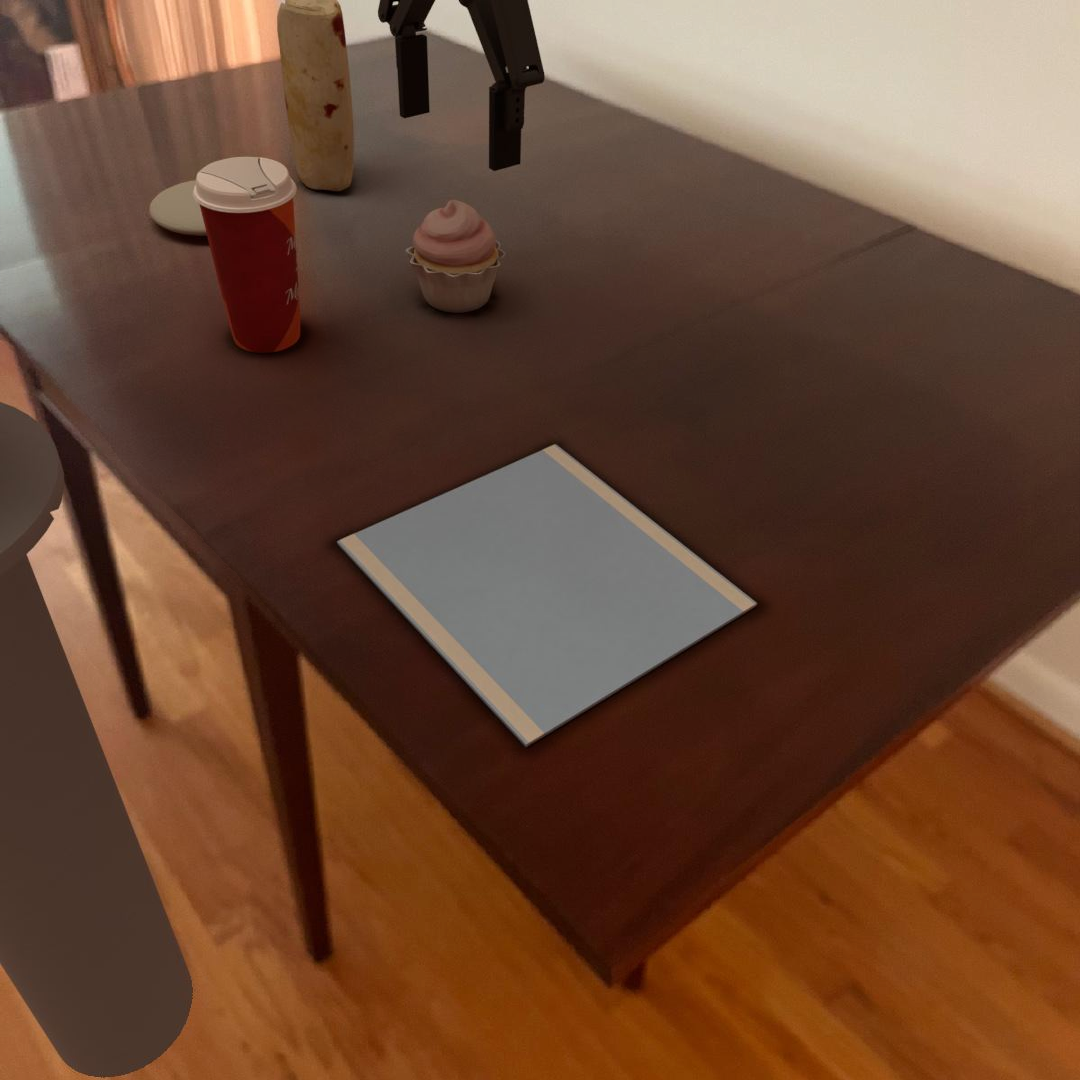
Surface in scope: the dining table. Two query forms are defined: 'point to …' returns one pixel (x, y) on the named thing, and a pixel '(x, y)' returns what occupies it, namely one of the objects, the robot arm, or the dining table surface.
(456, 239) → the cupcake
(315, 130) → the food model
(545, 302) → the dining table surface
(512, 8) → the robot arm
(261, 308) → the coffee cup
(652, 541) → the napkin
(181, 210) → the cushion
